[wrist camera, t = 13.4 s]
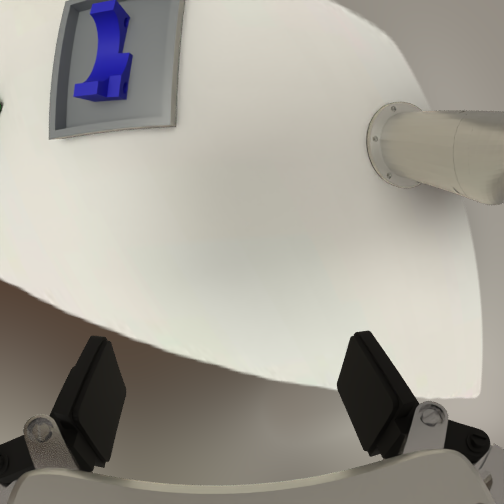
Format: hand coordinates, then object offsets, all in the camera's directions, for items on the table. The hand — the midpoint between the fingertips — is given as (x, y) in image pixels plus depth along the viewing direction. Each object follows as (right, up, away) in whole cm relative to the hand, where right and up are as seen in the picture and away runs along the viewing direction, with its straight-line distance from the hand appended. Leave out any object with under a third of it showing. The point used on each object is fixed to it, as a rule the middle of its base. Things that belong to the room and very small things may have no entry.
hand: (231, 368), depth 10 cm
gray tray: (-16, +29, +17) cm, 37 cm away
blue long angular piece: (-16, +29, +17) cm, 37 cm away
